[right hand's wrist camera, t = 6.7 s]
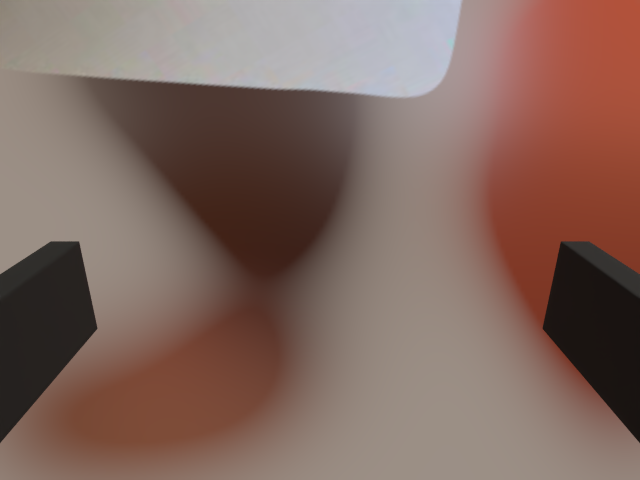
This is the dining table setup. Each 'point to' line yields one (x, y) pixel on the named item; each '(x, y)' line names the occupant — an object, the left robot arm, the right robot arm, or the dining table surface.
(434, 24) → the dining table surface
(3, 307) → the right robot arm
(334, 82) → the dining table surface
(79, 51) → the dining table surface
